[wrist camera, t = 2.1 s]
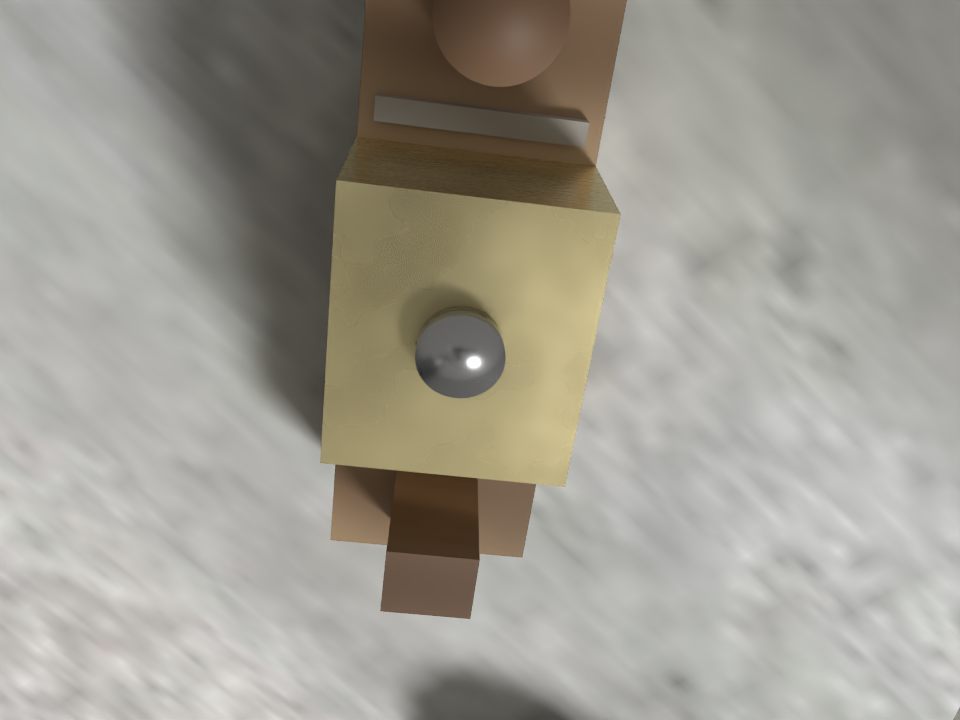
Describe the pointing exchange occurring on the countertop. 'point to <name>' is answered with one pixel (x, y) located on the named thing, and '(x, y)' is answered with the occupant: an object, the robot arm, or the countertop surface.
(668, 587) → the countertop surface
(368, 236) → the yellow block with knob
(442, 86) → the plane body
